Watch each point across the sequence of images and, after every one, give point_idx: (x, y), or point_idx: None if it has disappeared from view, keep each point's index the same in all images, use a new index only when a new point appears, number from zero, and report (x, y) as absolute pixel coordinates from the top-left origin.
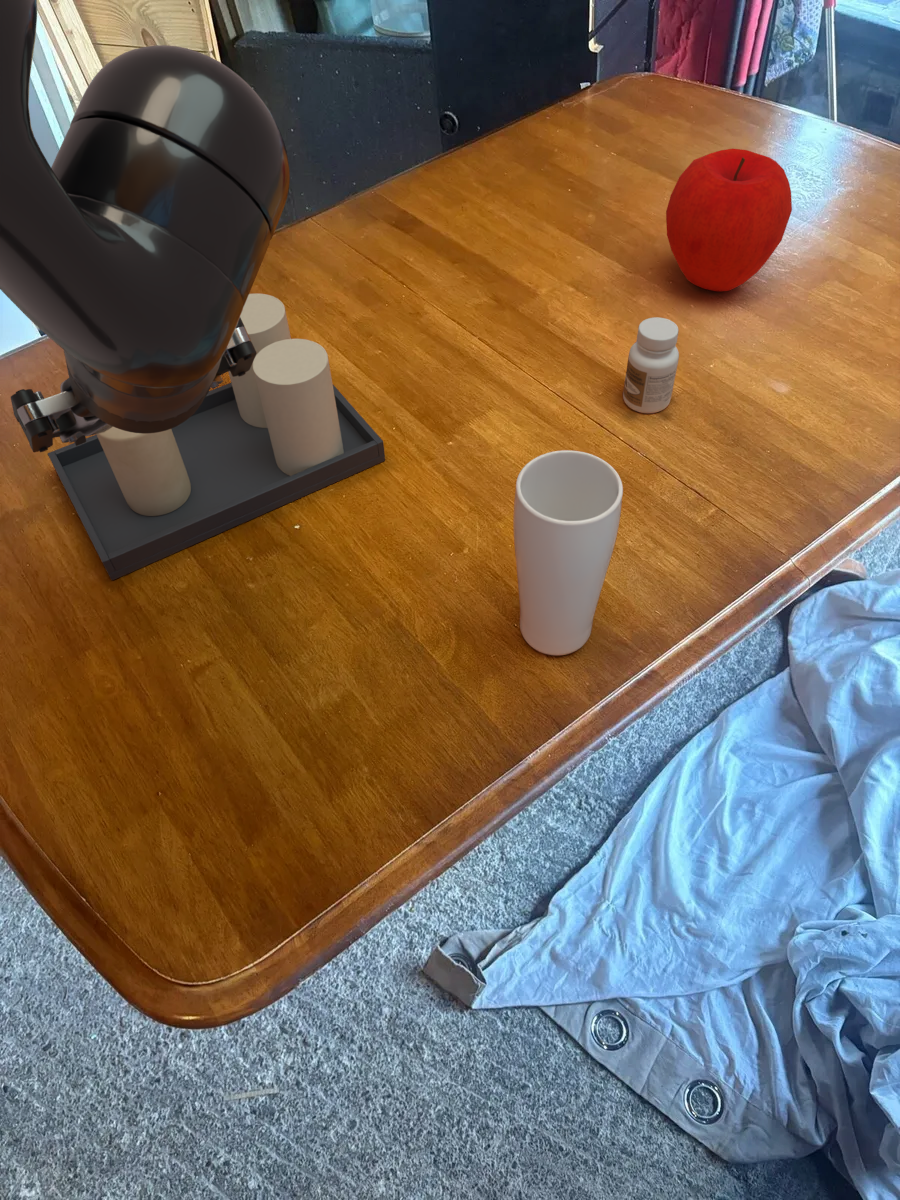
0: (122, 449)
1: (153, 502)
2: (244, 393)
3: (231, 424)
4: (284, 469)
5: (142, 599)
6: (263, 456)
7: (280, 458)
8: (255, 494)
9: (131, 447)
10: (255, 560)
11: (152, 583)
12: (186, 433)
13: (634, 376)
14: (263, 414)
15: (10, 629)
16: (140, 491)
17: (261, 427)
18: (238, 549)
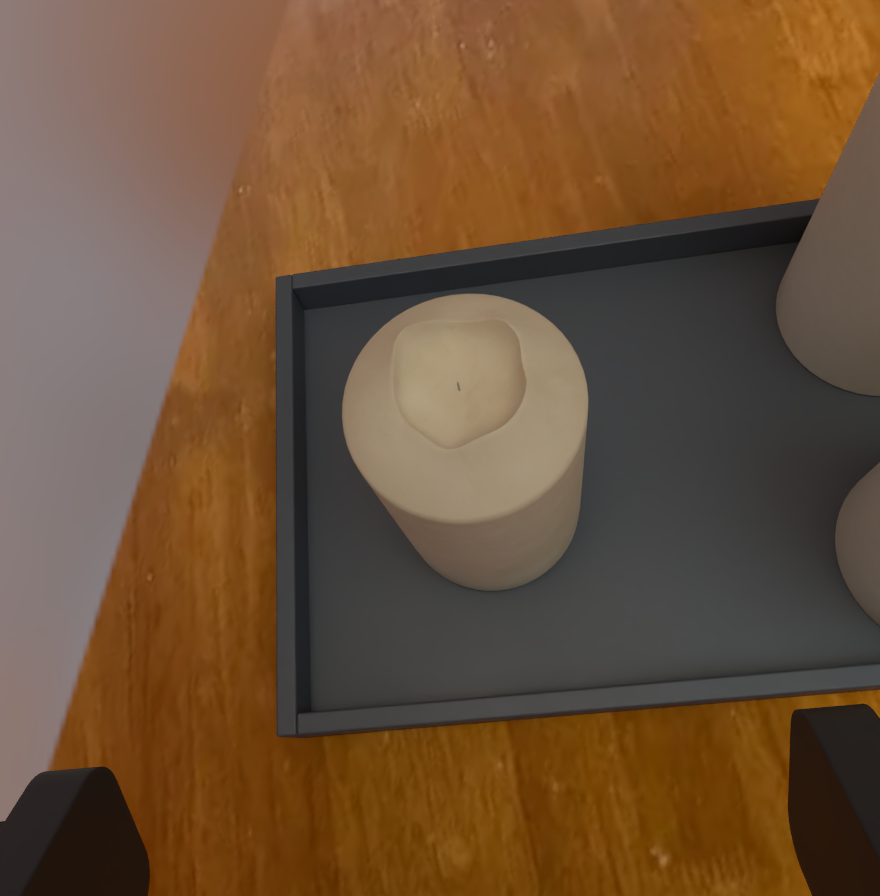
0: (406, 518)
1: (462, 580)
2: (837, 306)
3: (742, 333)
4: (857, 591)
5: (349, 847)
6: (802, 494)
7: (867, 576)
8: (752, 689)
9: (435, 528)
10: (673, 873)
11: (388, 802)
12: (616, 318)
13: None
14: (855, 366)
15: (50, 769)
16: (435, 561)
17: (824, 379)
18: (638, 800)
